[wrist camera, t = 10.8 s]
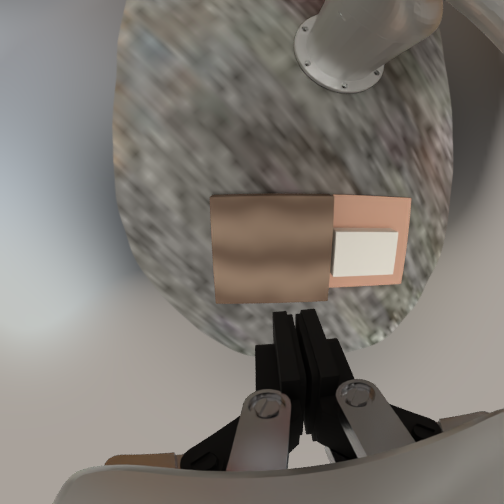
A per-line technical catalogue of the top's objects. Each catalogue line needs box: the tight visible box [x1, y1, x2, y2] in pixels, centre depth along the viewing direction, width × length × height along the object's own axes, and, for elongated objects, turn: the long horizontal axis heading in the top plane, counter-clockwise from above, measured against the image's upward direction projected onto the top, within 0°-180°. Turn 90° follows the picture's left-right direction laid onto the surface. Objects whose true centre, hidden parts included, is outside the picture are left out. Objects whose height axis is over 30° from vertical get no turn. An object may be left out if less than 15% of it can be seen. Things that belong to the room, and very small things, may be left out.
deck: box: [210, 194, 334, 304], centre depth 37 cm, size 14×15×2 cm
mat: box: [329, 194, 411, 288], centre depth 38 cm, size 13×12×1 cm
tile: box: [330, 228, 398, 277], centre depth 37 cm, size 6×9×2 cm, turn 91°
